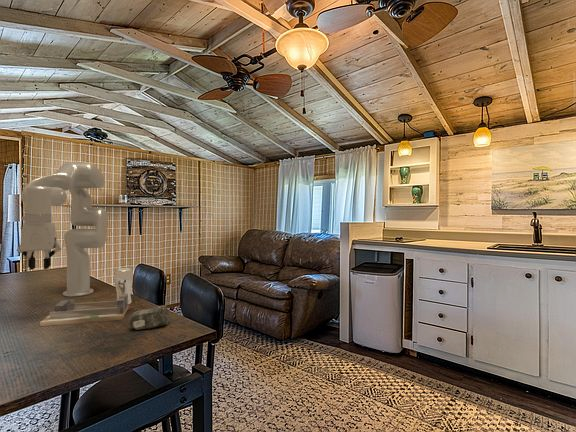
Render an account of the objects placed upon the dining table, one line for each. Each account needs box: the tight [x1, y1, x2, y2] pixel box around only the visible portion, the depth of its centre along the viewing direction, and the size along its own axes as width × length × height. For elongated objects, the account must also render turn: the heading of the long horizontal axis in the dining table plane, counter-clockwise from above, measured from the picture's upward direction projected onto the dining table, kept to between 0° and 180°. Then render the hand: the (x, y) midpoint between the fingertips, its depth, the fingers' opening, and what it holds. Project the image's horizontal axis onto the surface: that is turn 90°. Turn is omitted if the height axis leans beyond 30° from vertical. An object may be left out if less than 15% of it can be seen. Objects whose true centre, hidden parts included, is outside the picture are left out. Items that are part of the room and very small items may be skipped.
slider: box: [53, 299, 75, 312], centre depth 123 cm, size 12×4×5 cm, turn 17°
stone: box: [128, 304, 171, 331], centre depth 116 cm, size 14×7×10 cm, turn 131°
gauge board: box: [39, 294, 130, 327], centre depth 127 cm, size 16×26×6 cm, turn 107°
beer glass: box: [114, 267, 134, 305], centre depth 144 cm, size 7×7×15 cm
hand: (39, 268), depth 122 cm, fingers open, 3 cm apart
